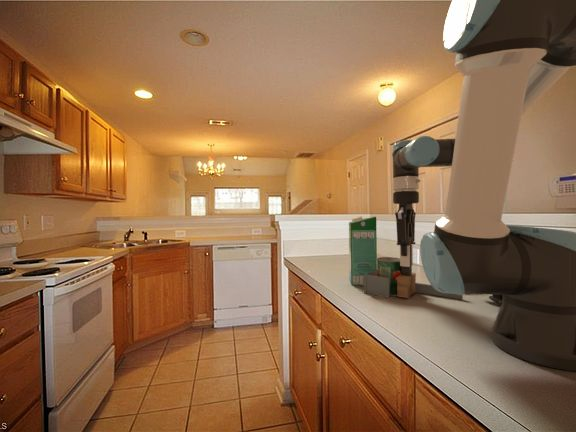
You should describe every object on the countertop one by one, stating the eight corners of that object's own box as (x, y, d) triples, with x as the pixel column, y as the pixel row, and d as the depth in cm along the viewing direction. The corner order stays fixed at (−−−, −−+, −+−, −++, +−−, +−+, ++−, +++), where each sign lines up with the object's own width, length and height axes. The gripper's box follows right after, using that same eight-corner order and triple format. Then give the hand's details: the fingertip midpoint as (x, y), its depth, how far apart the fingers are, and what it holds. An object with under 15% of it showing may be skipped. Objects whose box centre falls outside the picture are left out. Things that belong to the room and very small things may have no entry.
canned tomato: (404, 296, 87) (404, 261, 87) (377, 294, 89) (377, 260, 89) (401, 289, 94) (400, 257, 94) (376, 288, 96) (376, 256, 96)
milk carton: (349, 279, 110) (348, 216, 110) (372, 279, 109) (372, 216, 108) (351, 285, 101) (350, 216, 101) (377, 285, 100) (376, 216, 99)
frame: (456, 310, 74) (456, 287, 74) (364, 293, 91) (363, 274, 91) (462, 299, 84) (462, 279, 84) (378, 285, 100) (377, 269, 100)
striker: (407, 298, 84) (407, 238, 83) (397, 296, 85) (396, 237, 85) (415, 291, 91) (415, 236, 90) (406, 289, 92) (405, 235, 92)
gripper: (411, 188, 79) (412, 271, 80) (424, 191, 91) (425, 263, 92) (385, 190, 84) (385, 268, 84) (401, 193, 96) (401, 260, 96)
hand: (406, 265), depth 88 cm, fingers closed on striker, 2 cm apart
